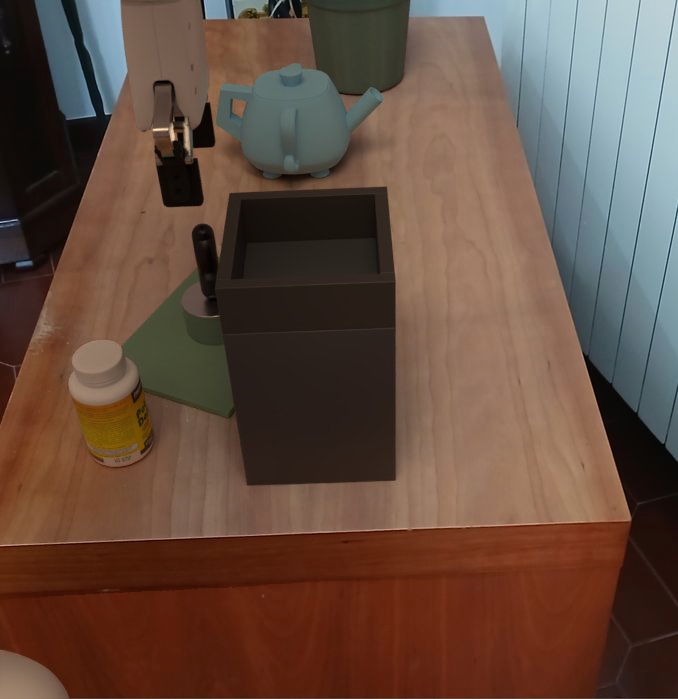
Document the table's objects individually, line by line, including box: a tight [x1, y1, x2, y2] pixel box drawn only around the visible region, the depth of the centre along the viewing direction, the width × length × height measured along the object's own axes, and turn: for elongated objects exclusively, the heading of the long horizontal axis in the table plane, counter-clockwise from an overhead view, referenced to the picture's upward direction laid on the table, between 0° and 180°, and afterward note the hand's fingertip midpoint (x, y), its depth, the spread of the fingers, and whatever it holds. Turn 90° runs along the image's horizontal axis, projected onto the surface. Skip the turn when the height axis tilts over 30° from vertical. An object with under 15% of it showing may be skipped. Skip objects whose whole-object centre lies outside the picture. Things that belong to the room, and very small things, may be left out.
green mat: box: [120, 256, 235, 419], centre depth 89 cm, size 20×14×1 cm
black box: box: [215, 186, 397, 486], centre depth 72 cm, size 12×12×20 cm
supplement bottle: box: [67, 339, 155, 468], centre depth 75 cm, size 6×6×10 cm
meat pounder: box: [181, 222, 224, 345], centre depth 85 cm, size 6×6×12 cm
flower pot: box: [305, 0, 411, 95], centre depth 125 cm, size 16×16×16 cm
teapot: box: [214, 62, 385, 179], centre depth 109 cm, size 20×17×12 cm
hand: (191, 174), depth 77 cm, fingers open, 9 cm apart
